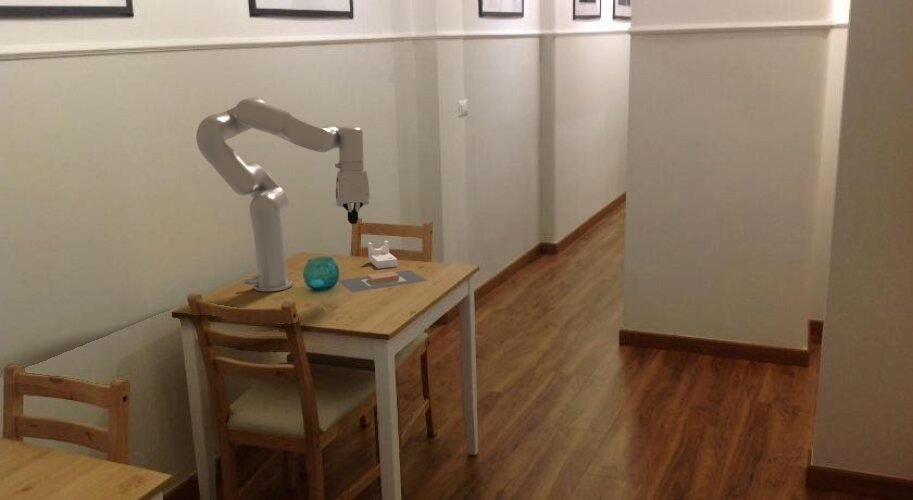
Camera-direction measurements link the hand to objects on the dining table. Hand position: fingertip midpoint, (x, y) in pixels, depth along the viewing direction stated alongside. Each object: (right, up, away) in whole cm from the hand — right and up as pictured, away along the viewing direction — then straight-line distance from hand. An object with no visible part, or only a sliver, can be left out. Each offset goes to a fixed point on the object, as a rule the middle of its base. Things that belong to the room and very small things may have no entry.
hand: (353, 223), depth 266 cm
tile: (+5, -18, +6) cm, 20 cm away
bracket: (+7, -14, +31) cm, 35 cm away
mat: (+9, -19, +8) cm, 23 cm away
